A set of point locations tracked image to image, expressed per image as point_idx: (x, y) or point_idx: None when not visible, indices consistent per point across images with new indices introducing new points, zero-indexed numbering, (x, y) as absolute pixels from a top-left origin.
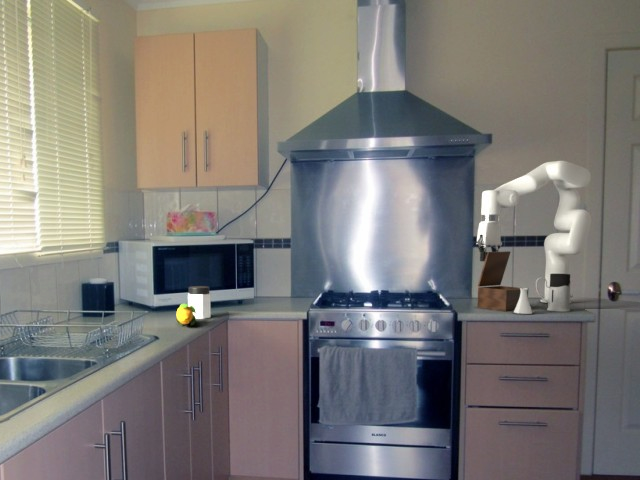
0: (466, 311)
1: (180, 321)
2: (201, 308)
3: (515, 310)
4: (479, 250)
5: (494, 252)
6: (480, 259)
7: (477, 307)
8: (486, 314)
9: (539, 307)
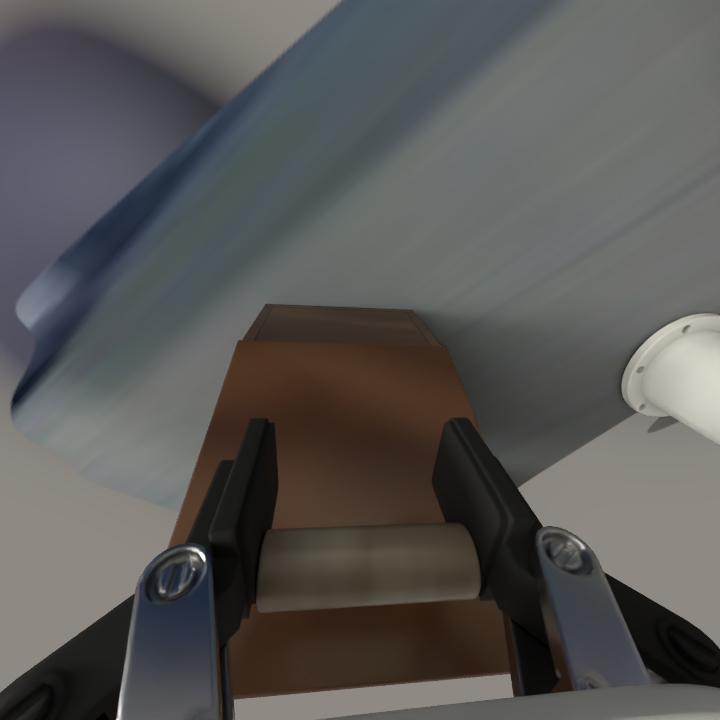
0: (122, 363)
1: None
2: None
3: None
4: (140, 585)
5: (247, 694)
6: (247, 435)
7: (265, 304)
8: (142, 450)
9: (476, 421)
